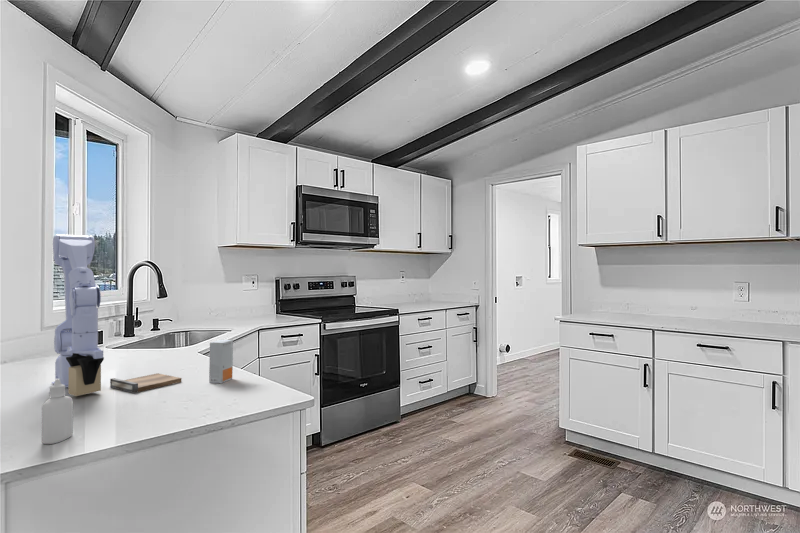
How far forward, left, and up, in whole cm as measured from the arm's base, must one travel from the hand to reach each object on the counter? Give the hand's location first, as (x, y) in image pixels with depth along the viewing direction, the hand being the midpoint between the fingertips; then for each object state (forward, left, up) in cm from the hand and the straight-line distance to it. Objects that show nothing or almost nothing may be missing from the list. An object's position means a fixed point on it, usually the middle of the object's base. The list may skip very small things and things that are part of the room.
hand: (84, 382), depth 123 cm
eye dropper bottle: (+30, -19, -4) cm, 36 cm away
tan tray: (+3, +15, -3) cm, 16 cm away
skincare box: (+18, +29, -4) cm, 34 cm away
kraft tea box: (0, 0, -3) cm, 2 cm away
